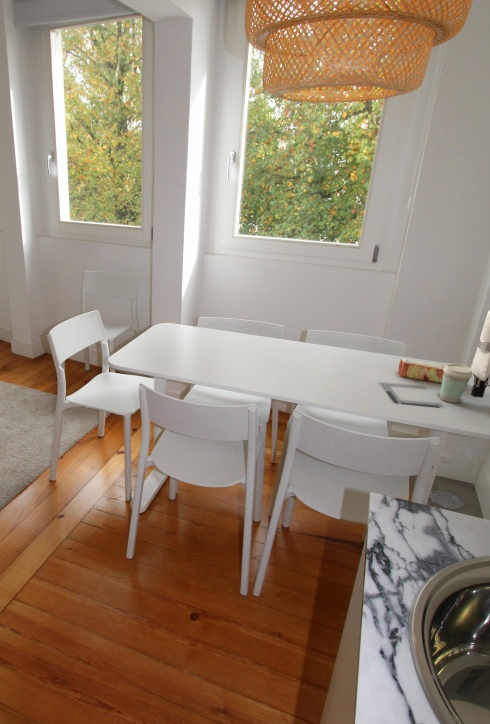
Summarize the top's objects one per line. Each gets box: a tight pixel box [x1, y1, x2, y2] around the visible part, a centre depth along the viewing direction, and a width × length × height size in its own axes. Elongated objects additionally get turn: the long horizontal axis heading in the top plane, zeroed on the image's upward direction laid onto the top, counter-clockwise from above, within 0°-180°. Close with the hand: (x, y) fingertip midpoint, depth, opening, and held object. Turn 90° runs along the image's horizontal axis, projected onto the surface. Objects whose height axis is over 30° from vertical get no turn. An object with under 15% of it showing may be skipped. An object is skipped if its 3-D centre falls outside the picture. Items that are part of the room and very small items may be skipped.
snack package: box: [398, 357, 446, 384], centre depth 178 cm, size 21×7×7 cm, turn 67°
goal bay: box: [386, 390, 441, 409], centre depth 166 cm, size 16×14×1 cm
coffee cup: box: [439, 362, 473, 404], centre depth 162 cm, size 8×8×12 cm
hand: (476, 396), depth 162 cm, fingers closed
